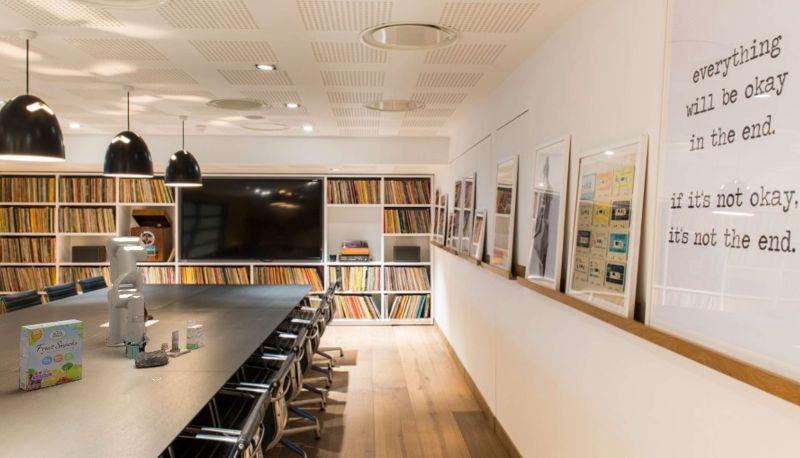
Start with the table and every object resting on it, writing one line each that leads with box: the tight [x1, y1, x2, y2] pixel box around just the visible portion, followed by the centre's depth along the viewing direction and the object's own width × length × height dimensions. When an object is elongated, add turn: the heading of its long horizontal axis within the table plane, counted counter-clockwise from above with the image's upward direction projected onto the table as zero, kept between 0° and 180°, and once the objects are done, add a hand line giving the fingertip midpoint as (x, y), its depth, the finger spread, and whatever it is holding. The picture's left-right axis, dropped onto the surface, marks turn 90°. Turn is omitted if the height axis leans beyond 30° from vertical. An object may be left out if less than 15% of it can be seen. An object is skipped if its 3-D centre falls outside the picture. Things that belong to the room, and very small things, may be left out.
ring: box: [126, 343, 143, 360], centre depth 272 cm, size 7×7×6 cm
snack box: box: [18, 318, 84, 392], centre depth 227 cm, size 22×9×26 cm, turn 148°
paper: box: [152, 377, 162, 382], centre depth 231 cm, size 25×17×1 cm
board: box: [151, 329, 192, 358], centre depth 280 cm, size 16×12×12 cm
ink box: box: [185, 319, 204, 350], centre depth 293 cm, size 9×5×15 cm, turn 168°
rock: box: [134, 349, 170, 368], centre depth 259 cm, size 13×6×15 cm
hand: (135, 353), depth 272 cm, fingers closed on ring, 7 cm apart
